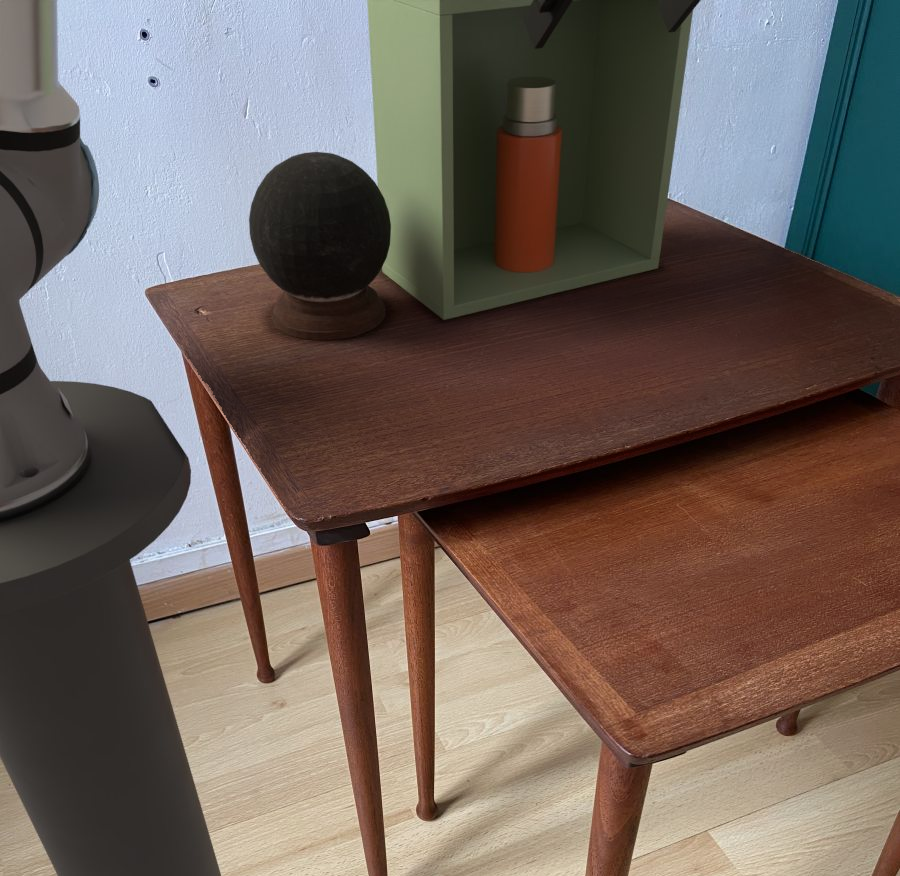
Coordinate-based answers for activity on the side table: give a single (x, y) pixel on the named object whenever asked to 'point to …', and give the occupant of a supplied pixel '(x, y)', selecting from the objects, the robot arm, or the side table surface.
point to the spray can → (527, 177)
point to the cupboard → (475, 135)
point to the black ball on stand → (321, 245)
